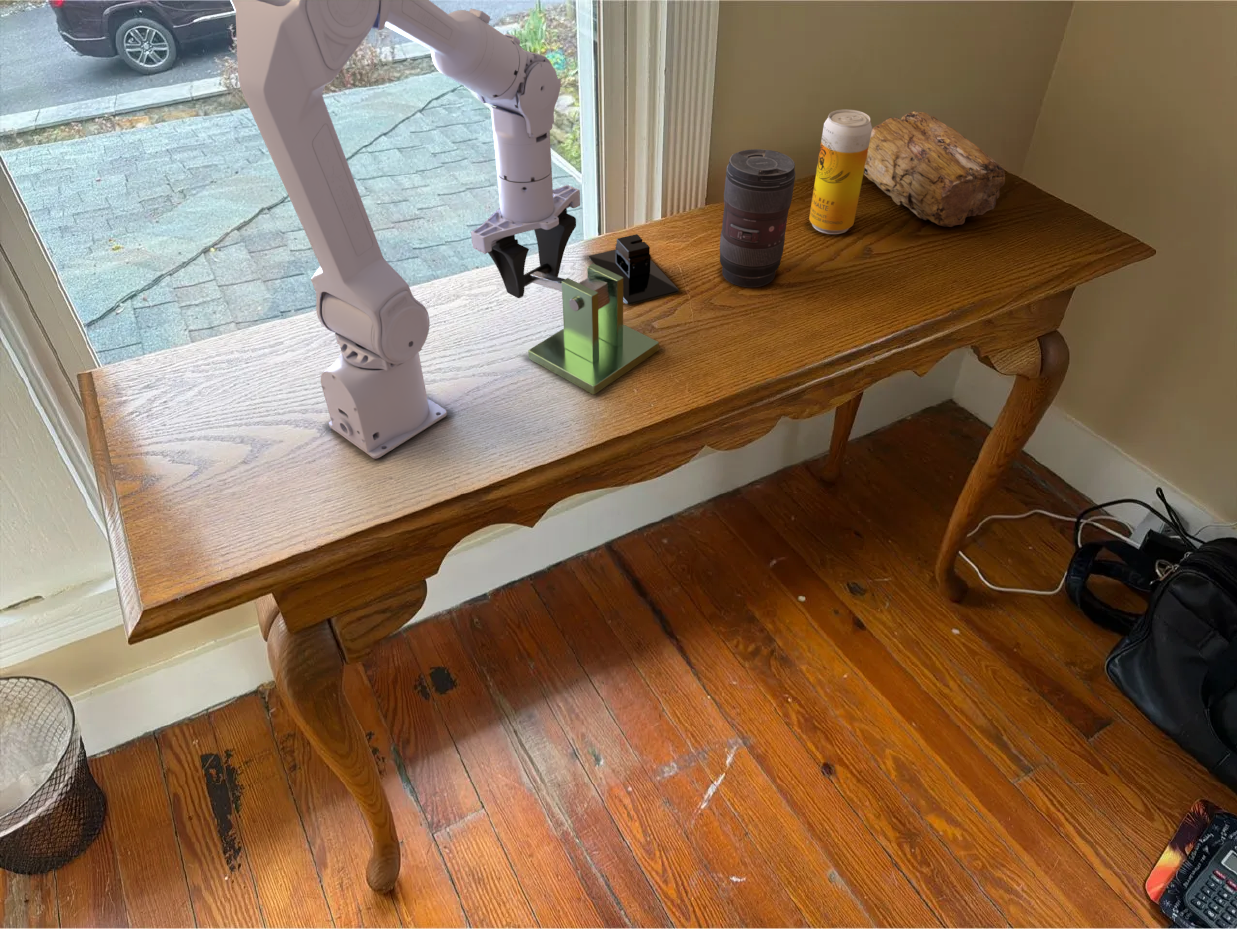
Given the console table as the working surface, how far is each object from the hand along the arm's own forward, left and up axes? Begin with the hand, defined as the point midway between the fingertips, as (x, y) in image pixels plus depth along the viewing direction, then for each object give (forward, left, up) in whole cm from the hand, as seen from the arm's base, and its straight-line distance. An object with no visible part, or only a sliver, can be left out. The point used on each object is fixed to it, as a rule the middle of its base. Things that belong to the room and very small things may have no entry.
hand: (532, 284), depth 103 cm
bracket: (0, -9, -5) cm, 11 cm away
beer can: (+44, -13, -6) cm, 46 cm away
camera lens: (+26, -12, -6) cm, 29 cm away
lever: (0, -5, +1) cm, 5 cm away
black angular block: (+16, -1, -6) cm, 17 cm away
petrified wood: (+59, -19, -6) cm, 62 cm away
